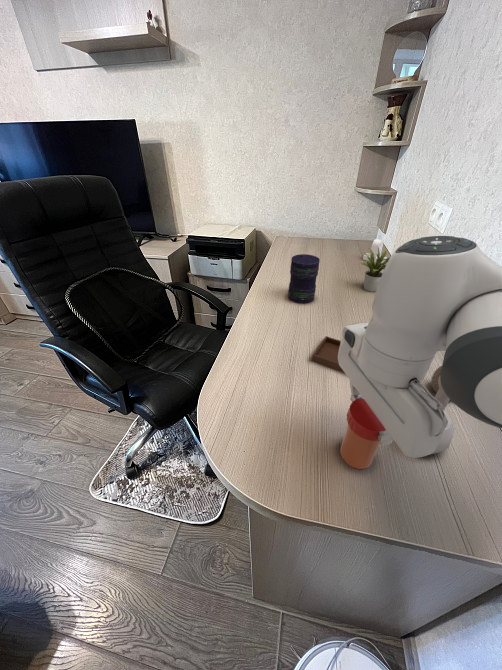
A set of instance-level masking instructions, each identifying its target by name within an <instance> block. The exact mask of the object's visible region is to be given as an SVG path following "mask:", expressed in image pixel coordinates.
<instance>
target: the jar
mask: <svg viewBox="0 0 502 670" xmlns="http://www.w3.org/2000/svg"><path fill="white" fill-rule="evenodd" d="M380 446H381V444H380V443H379V441H370V440H366V439H363V438H361V437H359V436H358V435H357V434H355V433H354V432H353V431H352V430H351V429H350V427H349V425H348V424H347V426H346V429H345V432H344V435H343V437H342V442H341V445H340V447H339V454H340V456H341V459H342V460H343V462H344V463H346V464H347V465H348V466H349V467H351V468H354V469H357V470H365V469H367V468H369V467H370V466H371V465H372V463H373V461H374V460H375V459H374V458H375V457H376V455H377V452H378V450H379V447H380Z"/></svg>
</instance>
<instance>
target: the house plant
mask: <svg viewBox="0 0 502 670" xmlns="http://www.w3.org/2000/svg"><path fill="white" fill-rule="evenodd" d="M368 250H369V253H370V257H371V258H369V256H368V255H367V254H366V253H367V252H364V255H366V256H367V258H368V259H369V261H366V262H361V263H359V265H363V266H366V267H368V269H369V270H366V271H365V272H364V278H363V279H364V280H363V289H364V290H365V291H368V292H376V291H377V288H378V285H379V282H380V279H381V277H382V274H383V272H382V271H384V269H385V267H386V265H387V263H388V261H389V259H390V257H391V256H389V257H387V258H386V259H384V257H386V256H387V253H388V251H389V249H388V247H386V248H385V250H384V251H383V252H382V253H381V255H380V252H379V247H378V254H377V259H376V263H375V262H374V253H373V252H372V250H371V248H370V247H368ZM383 260H385V261H384V262H383V263H381V262H382V261H383Z"/></svg>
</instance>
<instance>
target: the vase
mask: <svg viewBox="0 0 502 670" xmlns="http://www.w3.org/2000/svg"><path fill="white" fill-rule="evenodd" d="M441 368H442V365H440V366H439V367H437V369H436V370H434V371H433V374H432V376H431V379H430V384H431V385H430V386H431V388H432V390H433V391H434V393H435V394H436V393H437V391H438V390H439V385H438V380H439V377H440V373H441Z"/></svg>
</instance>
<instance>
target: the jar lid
mask: <svg viewBox="0 0 502 670" xmlns="http://www.w3.org/2000/svg"><path fill="white" fill-rule="evenodd" d="M346 422H347V426H348V425H349V427H350V429H351V430H352V431H353V432H354V433H355V434H357V435H358V436H359V437H361V438H363V439H366V440H370V441H378V440H377V438H376V436H377V434H378V432H380V431H386V429H385V428H384V426H383V425H382V423H381V422H380V421H379V419H378V418H377V416H376V415H375V414H374V412H373V411H372V410H371V408H370V407H369V405H368V404H367V403H366V401H365V400H364V399H363V398H360V399H356V400H355V401H353V402H352V401H351V403H350V405H349V408H348V409H347V413H346Z"/></svg>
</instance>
